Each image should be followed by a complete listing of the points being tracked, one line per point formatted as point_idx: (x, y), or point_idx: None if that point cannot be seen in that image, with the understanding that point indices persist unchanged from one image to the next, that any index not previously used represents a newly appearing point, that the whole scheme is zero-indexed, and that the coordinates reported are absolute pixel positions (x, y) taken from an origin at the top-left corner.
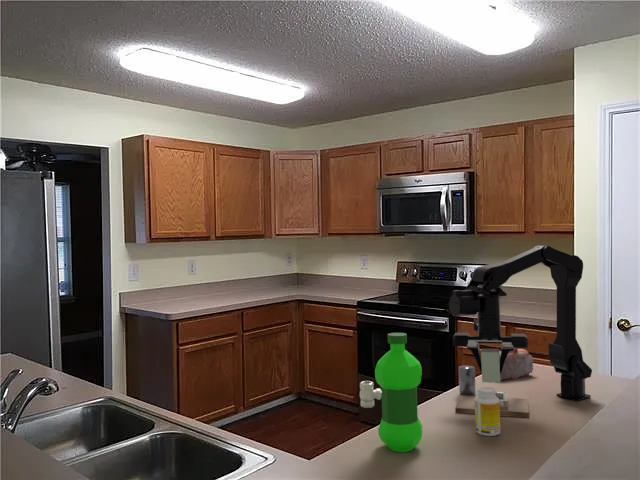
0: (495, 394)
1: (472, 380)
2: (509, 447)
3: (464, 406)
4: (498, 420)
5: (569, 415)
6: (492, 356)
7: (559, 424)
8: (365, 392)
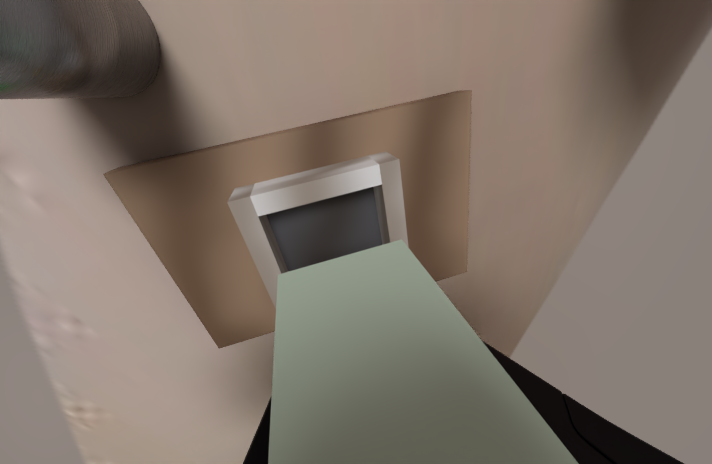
0: None
1: (89, 57)
2: None
3: (242, 320)
4: None
5: (576, 185)
6: None
7: (528, 274)
8: None
